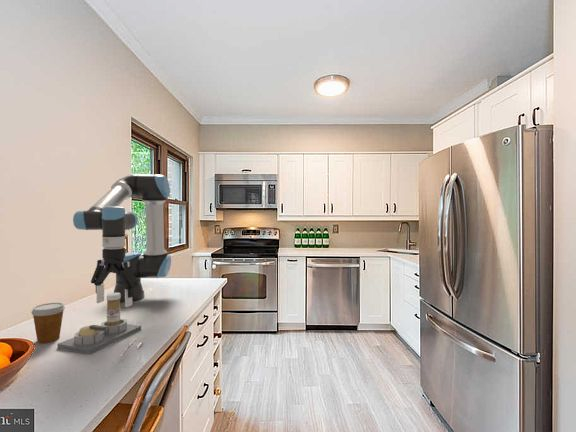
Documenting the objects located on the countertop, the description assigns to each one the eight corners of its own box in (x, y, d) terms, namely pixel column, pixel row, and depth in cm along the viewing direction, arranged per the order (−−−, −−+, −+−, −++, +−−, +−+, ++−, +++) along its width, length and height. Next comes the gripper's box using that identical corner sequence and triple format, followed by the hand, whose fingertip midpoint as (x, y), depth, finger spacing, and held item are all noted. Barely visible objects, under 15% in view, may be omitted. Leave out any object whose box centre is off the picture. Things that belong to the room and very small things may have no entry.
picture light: (135, 339, 113) (135, 333, 113) (147, 339, 114) (147, 333, 114) (118, 357, 100) (118, 351, 99) (133, 357, 100) (133, 350, 100)
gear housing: (112, 325, 126) (112, 309, 126) (141, 329, 121) (141, 313, 121) (57, 348, 105) (57, 328, 105) (89, 354, 101) (89, 334, 100)
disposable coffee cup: (46, 333, 117) (46, 301, 116) (71, 334, 116) (71, 302, 116) (24, 344, 107) (23, 310, 107) (51, 345, 107) (51, 310, 107)
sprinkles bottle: (106, 332, 115) (105, 295, 115) (107, 327, 119) (107, 292, 119) (120, 330, 117) (120, 294, 116) (121, 326, 121) (121, 291, 121)
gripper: (79, 247, 118) (80, 303, 118) (132, 250, 110) (133, 310, 111) (97, 244, 125) (97, 297, 125) (148, 248, 117) (148, 304, 118)
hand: (114, 304), depth 118 cm, fingers open, 13 cm apart
